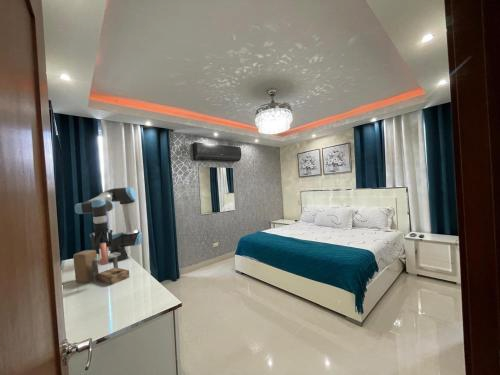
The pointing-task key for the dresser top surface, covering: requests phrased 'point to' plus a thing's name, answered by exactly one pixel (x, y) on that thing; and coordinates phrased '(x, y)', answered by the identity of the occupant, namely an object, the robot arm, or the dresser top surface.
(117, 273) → the socket station
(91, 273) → the wooden block
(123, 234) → the robot arm
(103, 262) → the peg
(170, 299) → the dresser top surface
